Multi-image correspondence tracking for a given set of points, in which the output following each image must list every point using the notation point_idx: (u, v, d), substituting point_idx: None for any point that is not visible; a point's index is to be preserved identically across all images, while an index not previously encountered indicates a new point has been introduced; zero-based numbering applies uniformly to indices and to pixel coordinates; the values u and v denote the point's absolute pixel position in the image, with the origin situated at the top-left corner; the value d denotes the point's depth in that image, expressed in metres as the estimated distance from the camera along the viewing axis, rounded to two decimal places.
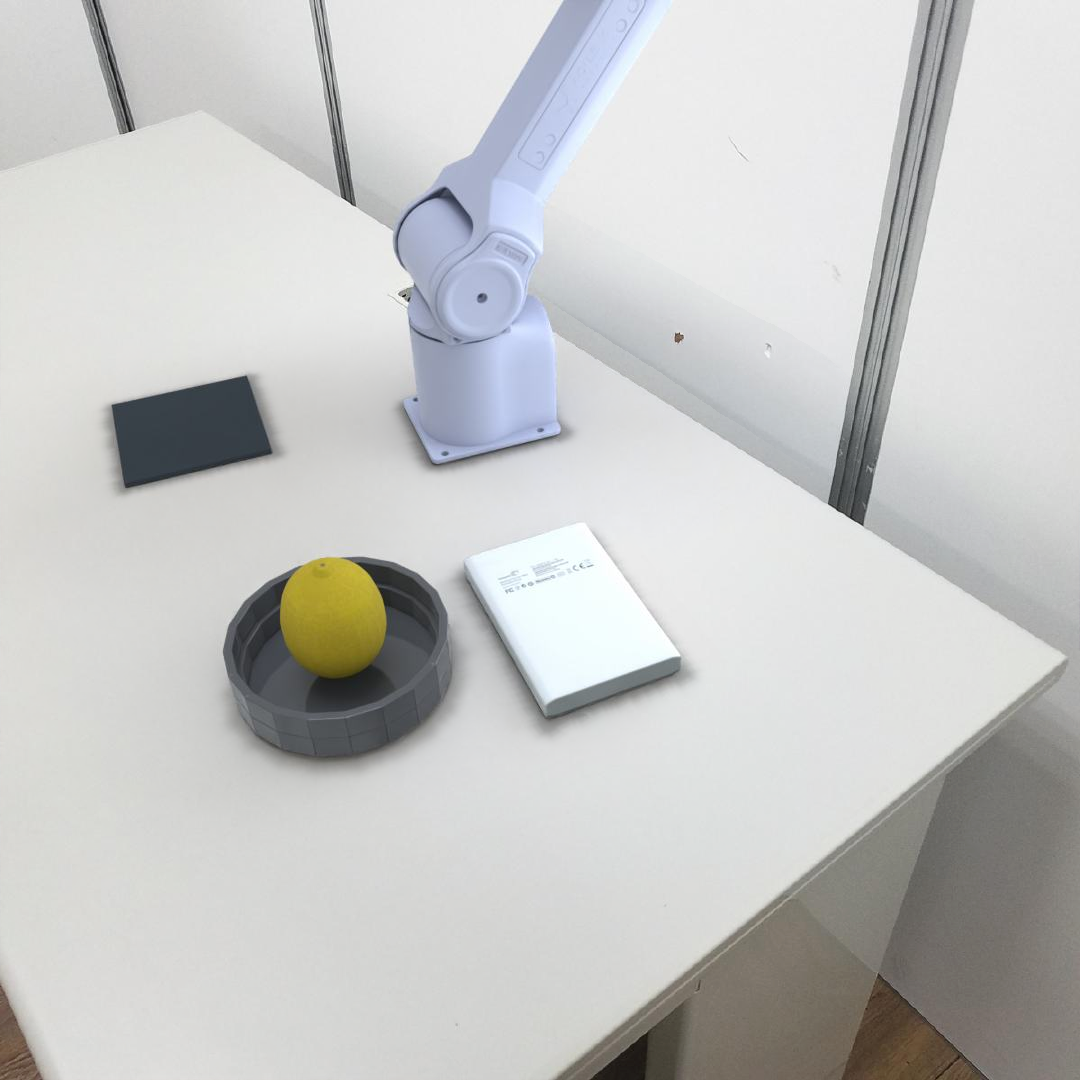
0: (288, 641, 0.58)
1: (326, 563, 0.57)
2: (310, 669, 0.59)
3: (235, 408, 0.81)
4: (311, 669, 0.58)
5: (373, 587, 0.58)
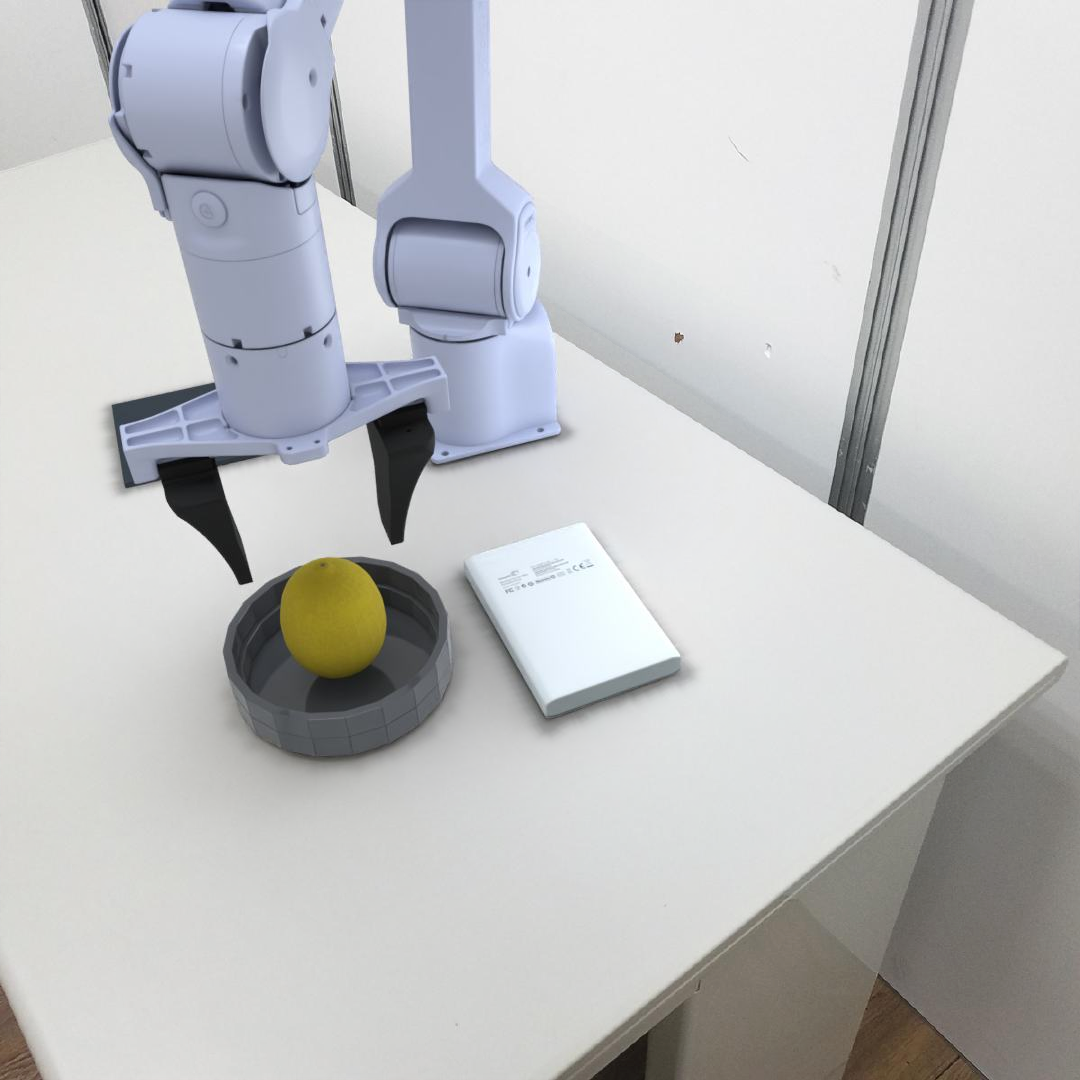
0: (288, 641, 0.58)
1: (326, 563, 0.57)
2: (310, 669, 0.59)
3: None
4: (311, 669, 0.58)
5: (373, 587, 0.58)
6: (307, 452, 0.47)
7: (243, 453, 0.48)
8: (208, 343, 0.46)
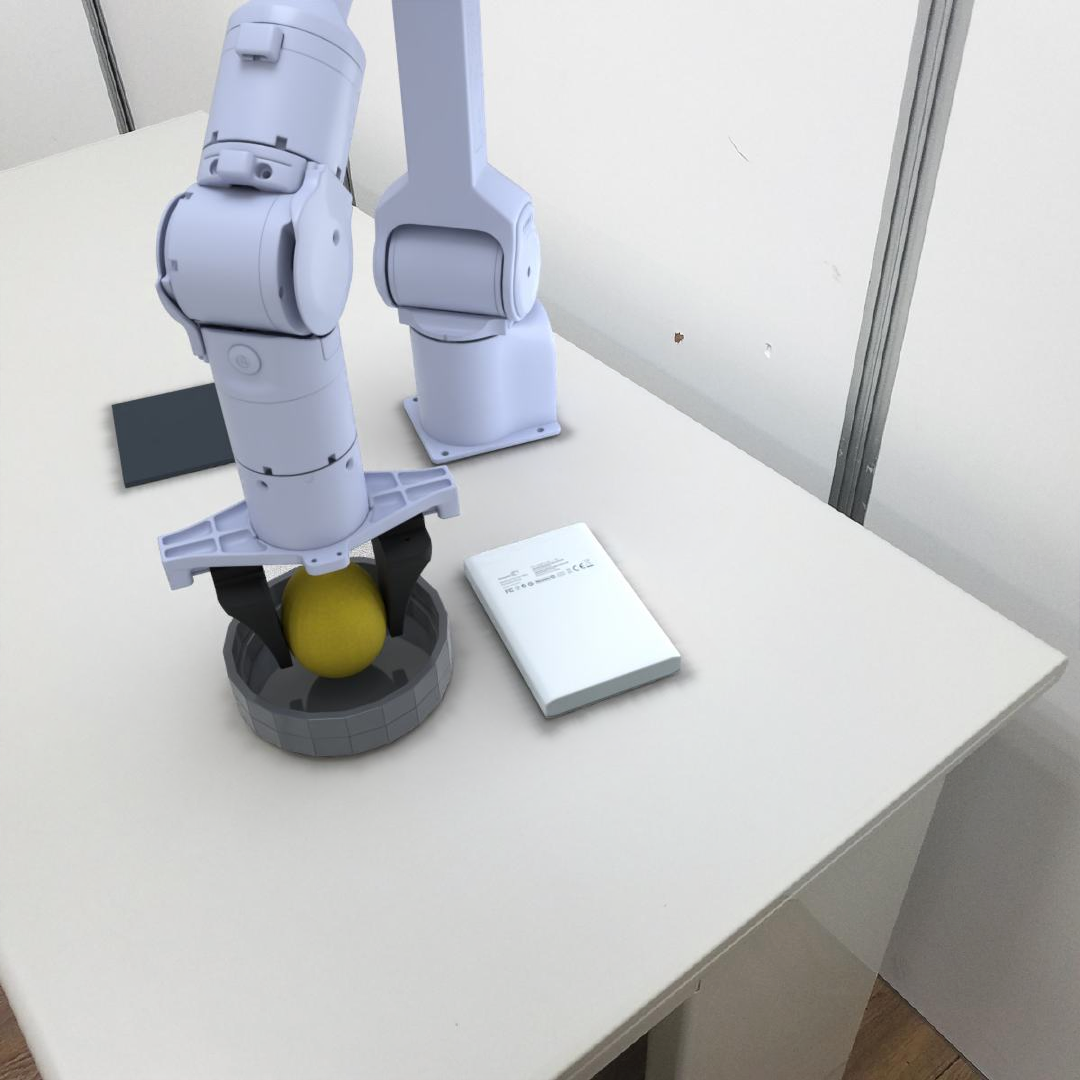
0: (289, 641, 0.58)
1: None
2: (311, 669, 0.59)
3: None
4: (312, 669, 0.59)
5: (374, 587, 0.58)
6: (330, 564, 0.52)
7: (271, 563, 0.52)
8: (240, 468, 0.50)
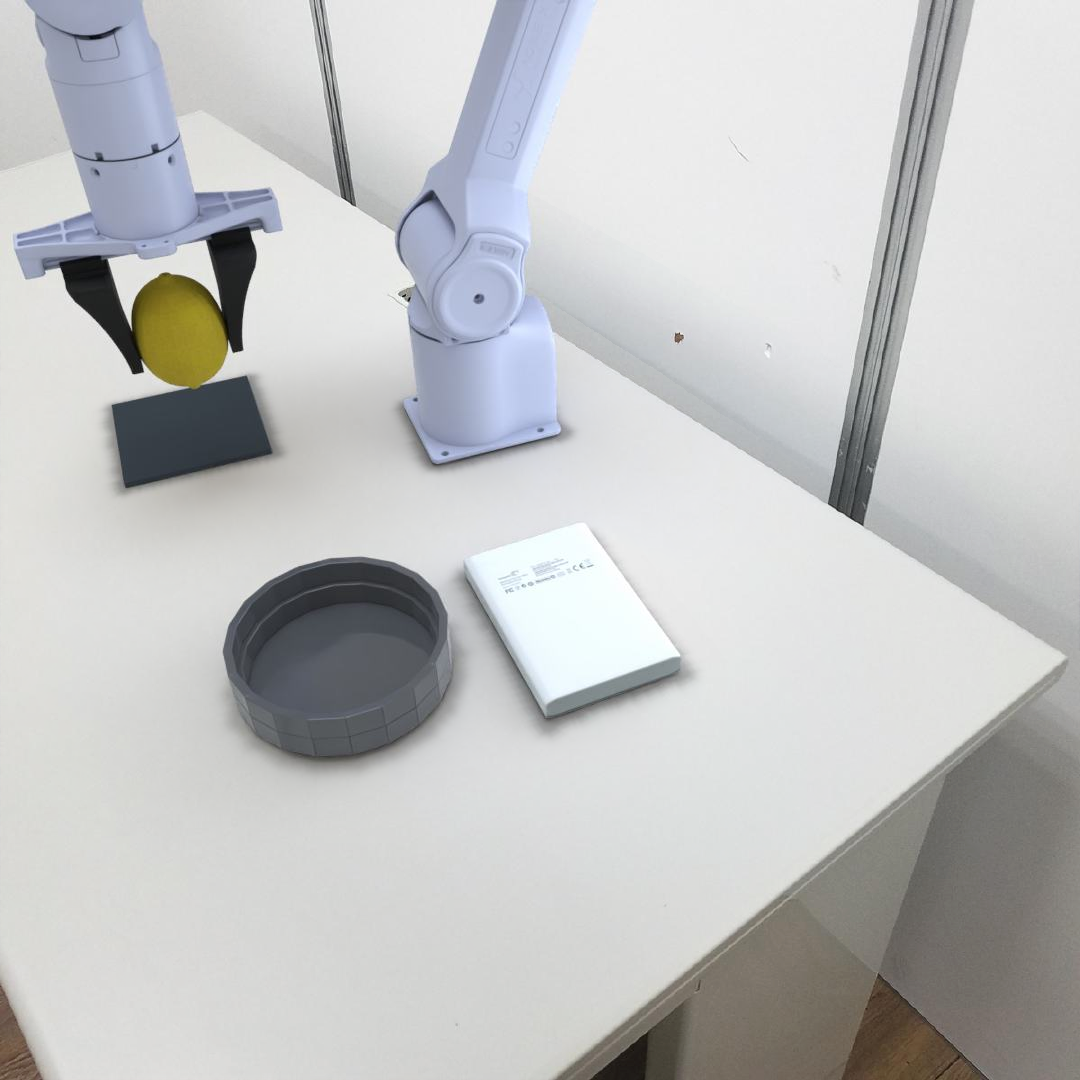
0: (138, 345, 0.67)
1: (168, 273, 0.66)
2: (158, 373, 0.67)
3: (235, 408, 0.81)
4: (159, 372, 0.67)
5: (212, 300, 0.67)
6: (158, 249, 0.60)
7: (109, 252, 0.61)
8: (77, 160, 0.59)
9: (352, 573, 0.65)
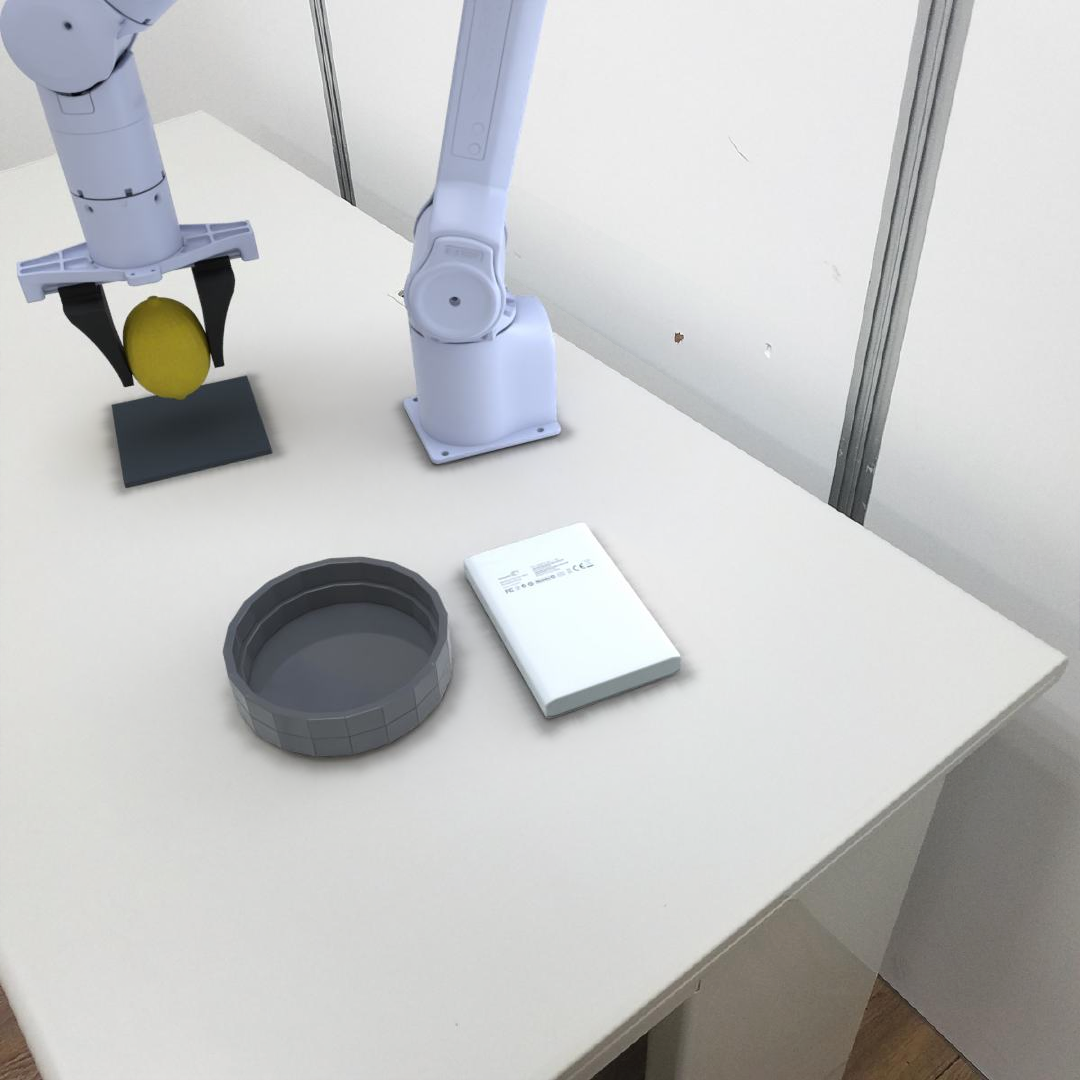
0: (128, 361, 0.74)
1: (156, 296, 0.73)
2: (147, 386, 0.75)
3: (235, 408, 0.81)
4: (147, 385, 0.75)
5: (196, 320, 0.74)
6: (145, 277, 0.68)
7: (102, 280, 0.69)
8: (73, 198, 0.66)
9: (352, 573, 0.65)
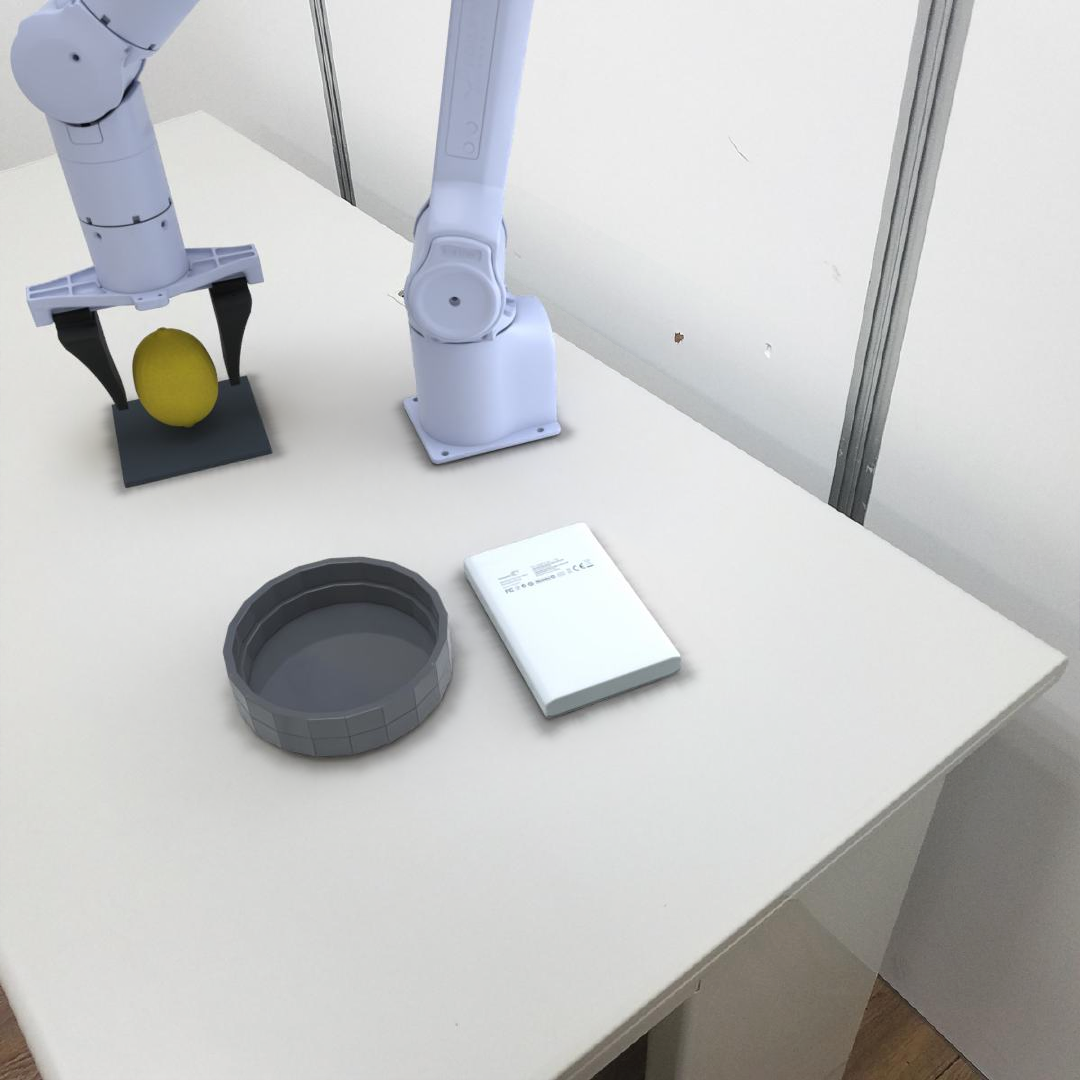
0: (138, 391, 0.76)
1: (165, 328, 0.75)
2: (156, 415, 0.76)
3: (235, 408, 0.81)
4: (157, 414, 0.76)
5: (204, 351, 0.76)
6: (152, 301, 0.69)
7: (110, 304, 0.70)
8: (82, 224, 0.67)
9: (352, 573, 0.65)
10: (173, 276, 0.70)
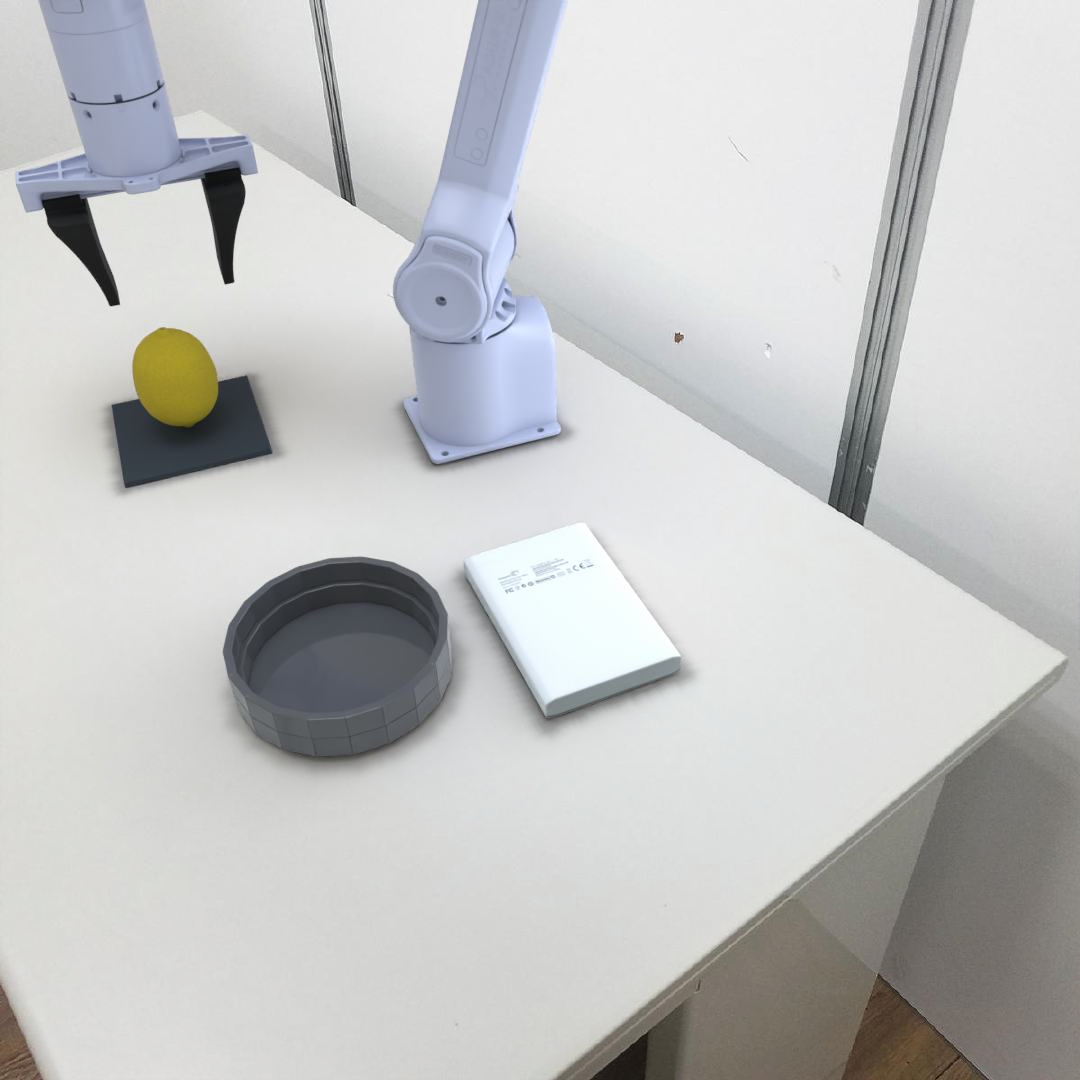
0: (138, 391, 0.76)
1: (165, 328, 0.75)
2: (156, 415, 0.76)
3: (235, 408, 0.81)
4: (157, 414, 0.76)
5: (204, 351, 0.76)
6: (143, 185, 0.68)
7: (100, 188, 0.68)
8: (71, 103, 0.66)
9: (352, 573, 0.65)
10: (165, 161, 0.69)
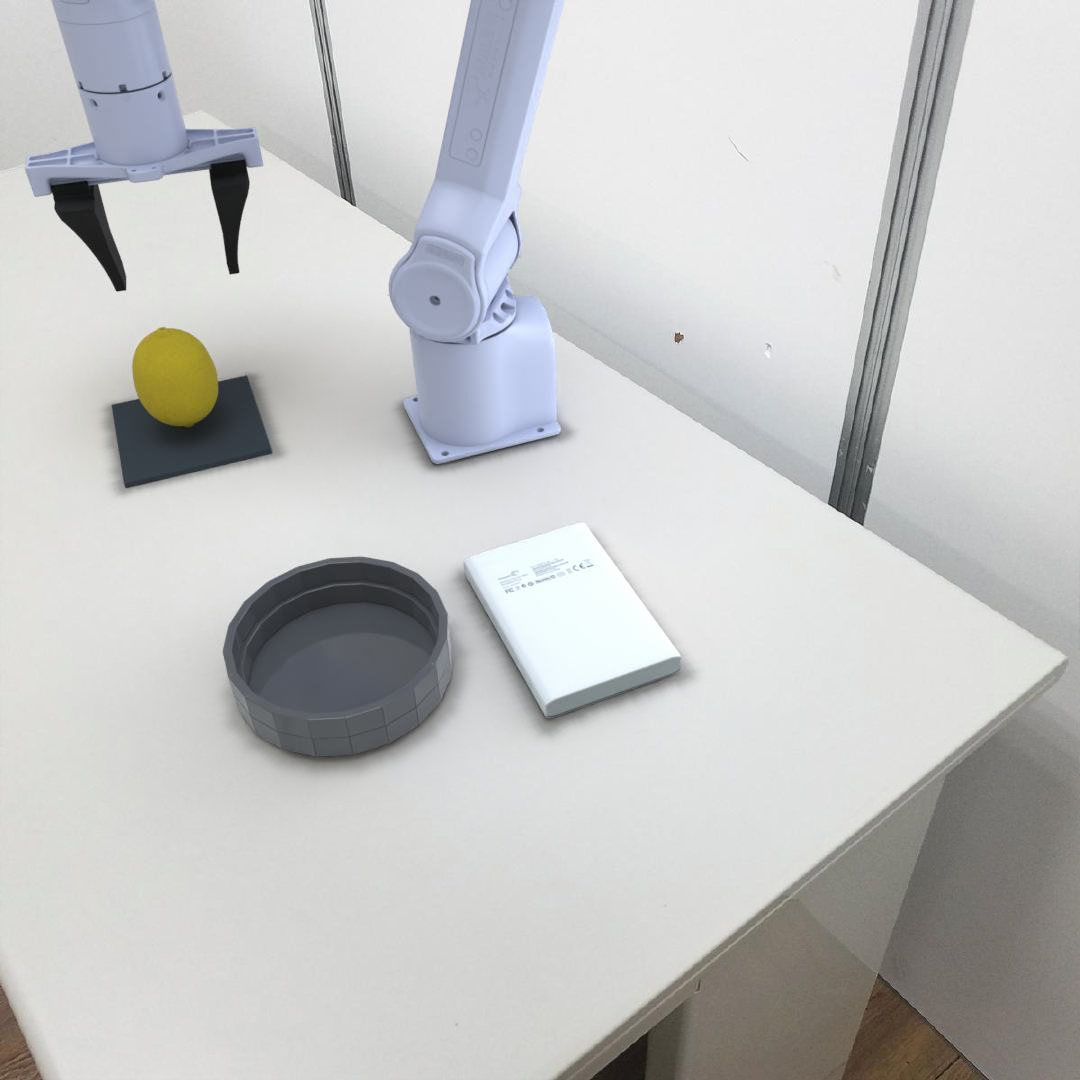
0: (138, 391, 0.76)
1: (165, 328, 0.75)
2: (156, 415, 0.76)
3: (235, 408, 0.81)
4: (157, 414, 0.76)
5: (204, 351, 0.76)
6: (145, 174, 0.69)
7: (105, 176, 0.70)
8: (79, 92, 0.68)
9: (352, 573, 0.65)
10: (169, 151, 0.70)
